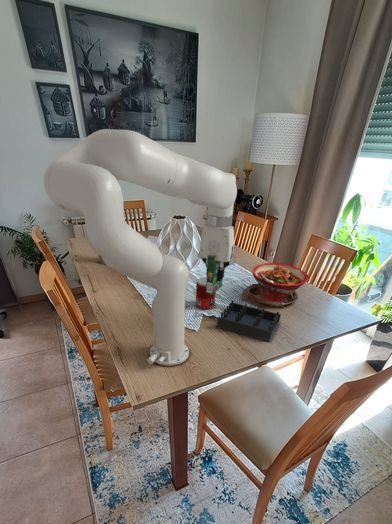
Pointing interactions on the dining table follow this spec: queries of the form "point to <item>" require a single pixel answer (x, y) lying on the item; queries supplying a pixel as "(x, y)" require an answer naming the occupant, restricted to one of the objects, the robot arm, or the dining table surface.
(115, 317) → the dining table surface
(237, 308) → the rack
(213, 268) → the coffee box
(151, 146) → the robot arm
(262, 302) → the stew
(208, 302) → the canned food
